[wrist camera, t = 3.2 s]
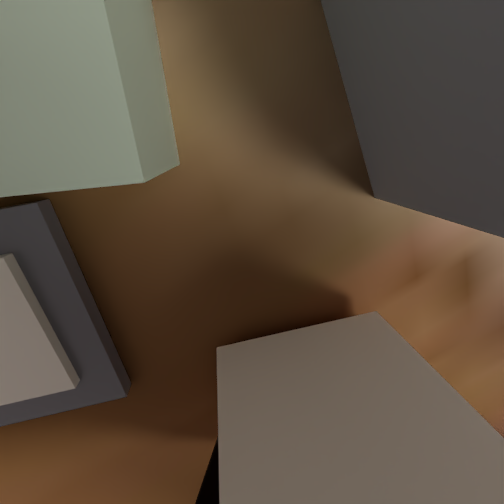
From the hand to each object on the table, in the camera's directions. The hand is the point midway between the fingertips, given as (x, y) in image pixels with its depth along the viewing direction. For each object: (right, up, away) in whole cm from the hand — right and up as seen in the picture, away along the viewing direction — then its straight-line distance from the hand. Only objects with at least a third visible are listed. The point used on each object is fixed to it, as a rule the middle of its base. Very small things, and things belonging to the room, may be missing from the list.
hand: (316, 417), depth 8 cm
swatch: (-9, +3, -1) cm, 10 cm away
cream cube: (0, 0, +1) cm, 1 cm away
